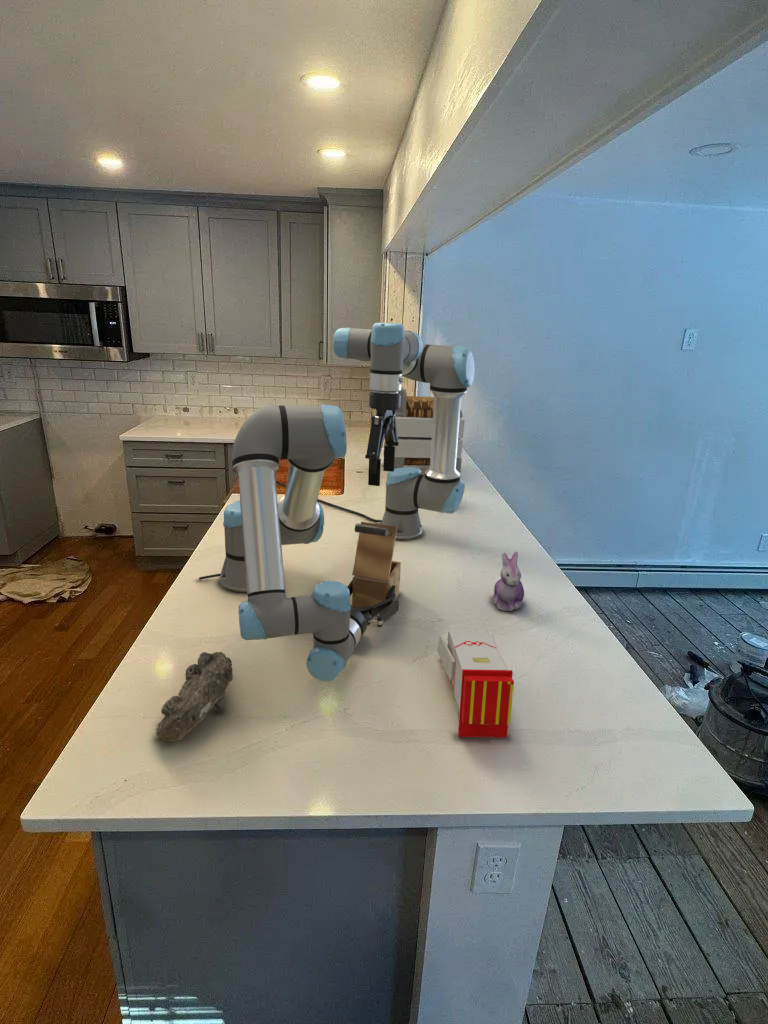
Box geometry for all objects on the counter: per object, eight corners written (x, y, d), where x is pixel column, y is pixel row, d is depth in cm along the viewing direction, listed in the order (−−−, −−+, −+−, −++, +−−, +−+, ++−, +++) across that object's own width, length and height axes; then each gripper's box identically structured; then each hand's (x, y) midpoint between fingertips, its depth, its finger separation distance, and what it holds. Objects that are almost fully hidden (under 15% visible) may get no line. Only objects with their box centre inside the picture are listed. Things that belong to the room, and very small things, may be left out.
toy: (488, 613, 130) (523, 677, 101) (484, 667, 133) (517, 744, 104) (435, 612, 130) (455, 676, 101) (432, 666, 133) (451, 743, 103)
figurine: (506, 615, 149) (513, 563, 144) (482, 598, 157) (488, 548, 152) (534, 608, 153) (541, 558, 148) (509, 592, 161) (516, 543, 156)
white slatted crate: (382, 463, 289) (386, 382, 275) (445, 464, 293) (451, 384, 279) (390, 482, 257) (394, 392, 243) (460, 483, 261) (468, 394, 247)
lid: (362, 522, 146) (353, 517, 138) (397, 527, 144) (390, 522, 136) (353, 575, 145) (343, 574, 137) (388, 581, 143) (381, 580, 135)
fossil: (183, 653, 120) (233, 621, 115) (215, 683, 122) (265, 653, 117) (132, 735, 100) (190, 701, 95) (171, 768, 103) (229, 737, 98)
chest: (366, 588, 160) (368, 557, 157) (399, 593, 158) (401, 562, 155) (351, 611, 148) (352, 577, 145) (386, 617, 146) (388, 583, 142)
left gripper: (299, 635, 132) (332, 592, 152) (393, 653, 126) (415, 606, 147) (299, 607, 129) (333, 567, 149) (395, 624, 124) (416, 580, 144)
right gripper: (387, 400, 122) (382, 493, 129) (412, 386, 144) (407, 467, 152) (353, 397, 124) (351, 490, 131) (383, 384, 146) (380, 464, 153)
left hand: (373, 586), depth 148 cm, fingers open, 10 cm apart
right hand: (381, 477), depth 141 cm, fingers open, 13 cm apart
